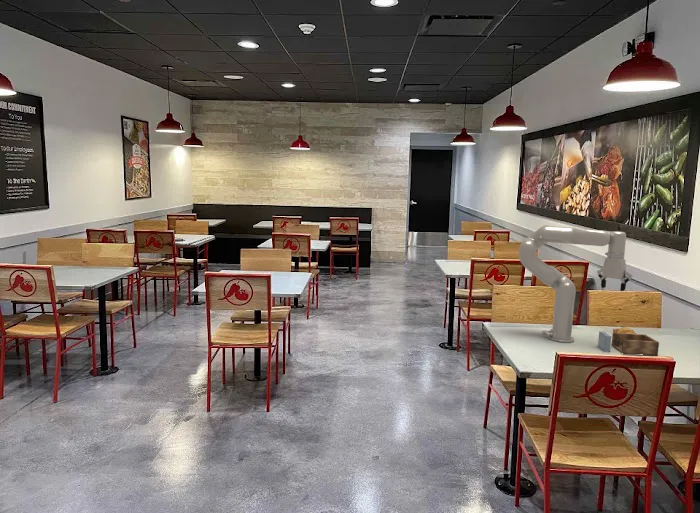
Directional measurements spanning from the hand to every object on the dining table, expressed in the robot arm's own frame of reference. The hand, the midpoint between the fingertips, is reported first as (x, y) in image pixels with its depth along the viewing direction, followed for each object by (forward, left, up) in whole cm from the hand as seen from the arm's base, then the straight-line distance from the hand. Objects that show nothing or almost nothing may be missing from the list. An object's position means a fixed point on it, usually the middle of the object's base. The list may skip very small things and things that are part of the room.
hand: (612, 289), depth 264 cm
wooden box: (+10, -8, -29) cm, 32 cm away
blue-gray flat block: (-5, -8, -29) cm, 31 cm away
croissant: (+15, +14, -30) cm, 36 cm away
